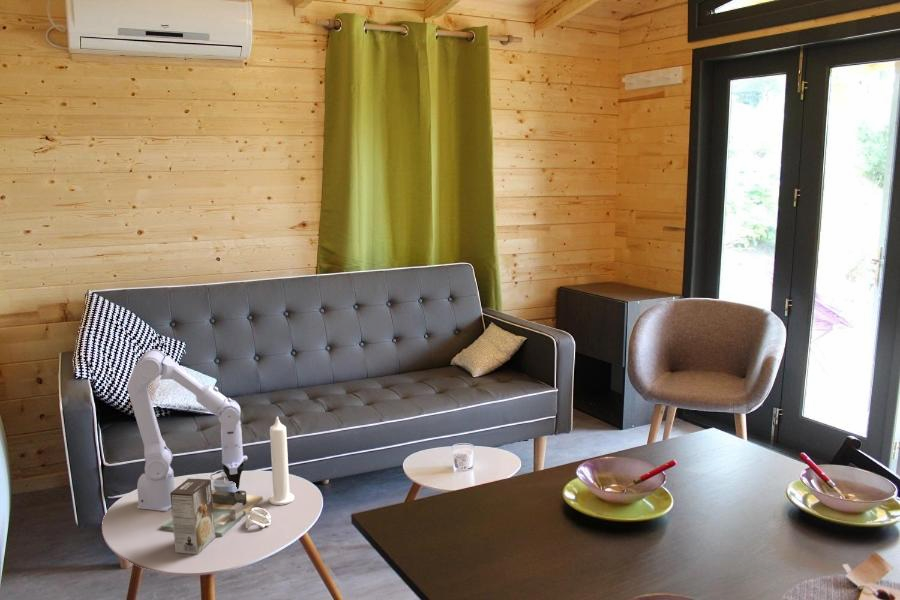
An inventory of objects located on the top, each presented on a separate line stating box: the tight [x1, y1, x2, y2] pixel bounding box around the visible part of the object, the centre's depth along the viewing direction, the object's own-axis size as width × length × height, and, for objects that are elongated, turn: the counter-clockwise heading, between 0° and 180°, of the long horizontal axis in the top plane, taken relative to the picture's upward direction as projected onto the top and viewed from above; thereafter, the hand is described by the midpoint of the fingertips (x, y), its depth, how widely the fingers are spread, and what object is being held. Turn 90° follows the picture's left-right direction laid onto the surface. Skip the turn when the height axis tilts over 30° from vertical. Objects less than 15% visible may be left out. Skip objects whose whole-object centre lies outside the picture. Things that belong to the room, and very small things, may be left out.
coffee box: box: [170, 477, 216, 555], centre depth 191 cm, size 9×6×16 cm
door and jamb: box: [159, 494, 263, 537], centre depth 209 cm, size 18×22×4 cm
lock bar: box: [212, 489, 247, 505], centre depth 213 cm, size 12×3×3 cm, turn 76°
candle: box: [268, 416, 295, 506], centre depth 215 cm, size 7×7×25 cm
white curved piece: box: [245, 507, 272, 530], centre depth 203 cm, size 8×7×5 cm
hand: (234, 488), depth 219 cm, fingers closed
